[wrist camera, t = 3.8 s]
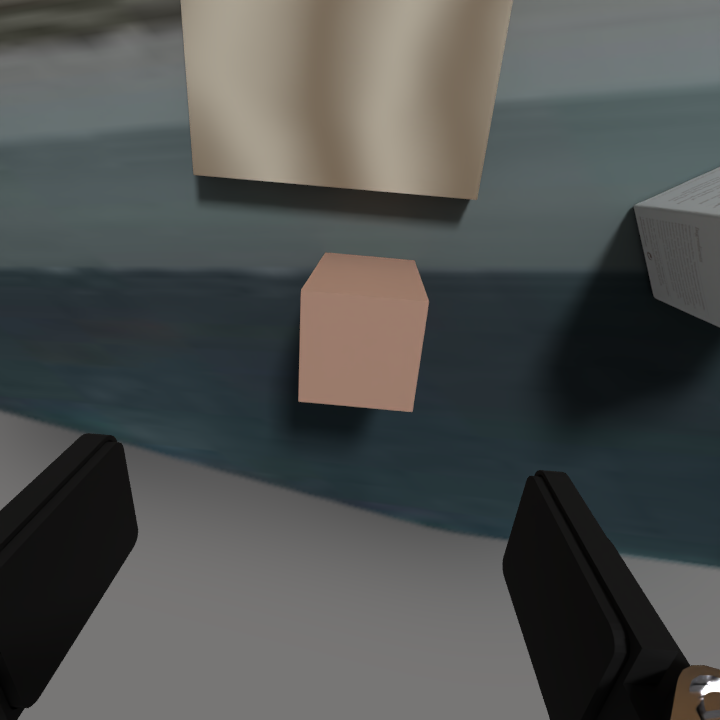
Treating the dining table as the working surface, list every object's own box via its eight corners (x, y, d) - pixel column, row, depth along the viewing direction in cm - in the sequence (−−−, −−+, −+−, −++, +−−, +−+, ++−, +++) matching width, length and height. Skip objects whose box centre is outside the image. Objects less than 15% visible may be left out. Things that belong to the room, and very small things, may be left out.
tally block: (414, 260, 24) (428, 301, 17) (403, 343, 26) (412, 411, 19) (325, 252, 24) (300, 290, 17) (321, 335, 26) (298, 401, 19)
